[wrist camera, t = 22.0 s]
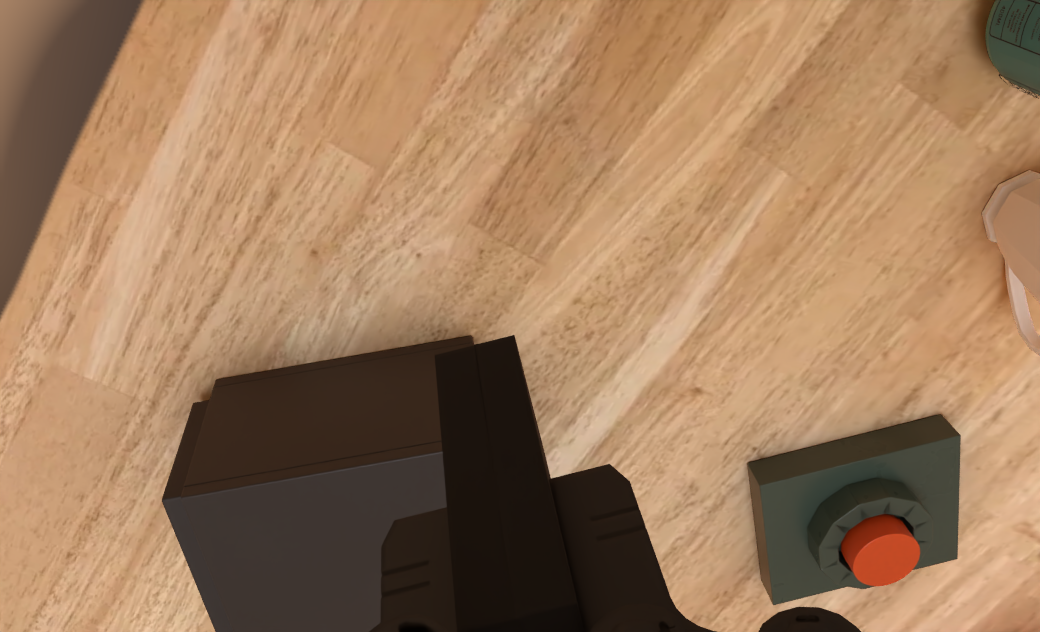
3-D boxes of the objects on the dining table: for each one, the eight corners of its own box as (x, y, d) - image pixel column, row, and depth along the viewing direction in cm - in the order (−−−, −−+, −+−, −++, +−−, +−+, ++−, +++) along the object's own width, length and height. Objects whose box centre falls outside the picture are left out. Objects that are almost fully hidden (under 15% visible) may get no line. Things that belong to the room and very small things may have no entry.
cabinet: (272, 544, 55) (251, 678, 46) (215, 379, 49) (179, 498, 41) (502, 502, 55) (522, 627, 47) (472, 334, 50) (489, 443, 41)
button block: (941, 413, 56) (978, 454, 53) (939, 535, 61) (973, 579, 58) (747, 462, 56) (770, 506, 53) (761, 580, 61) (783, 627, 58)
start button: (905, 506, 54) (920, 526, 53) (906, 555, 56) (920, 576, 55) (839, 523, 54) (851, 543, 53) (841, 572, 56) (854, 593, 55)
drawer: (225, 554, 53) (202, 664, 47) (169, 406, 48) (133, 505, 42) (463, 511, 54) (473, 613, 47) (431, 360, 49) (438, 450, 42)
